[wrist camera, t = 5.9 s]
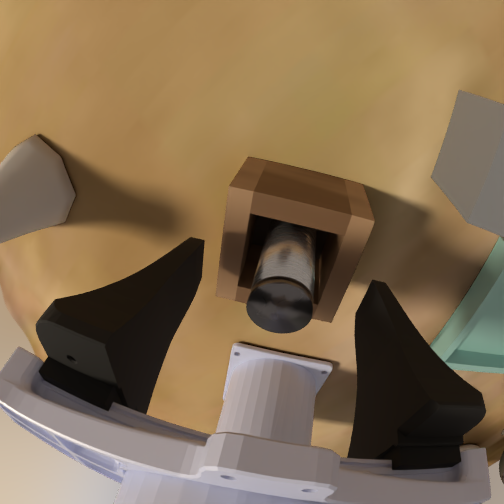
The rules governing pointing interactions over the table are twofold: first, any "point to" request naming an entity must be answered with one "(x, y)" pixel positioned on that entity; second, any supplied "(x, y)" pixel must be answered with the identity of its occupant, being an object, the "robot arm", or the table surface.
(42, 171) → the flask
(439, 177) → the gray block
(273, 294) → the cylinder
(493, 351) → the teal tray
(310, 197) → the walnut block
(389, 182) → the table surface
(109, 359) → the robot arm
